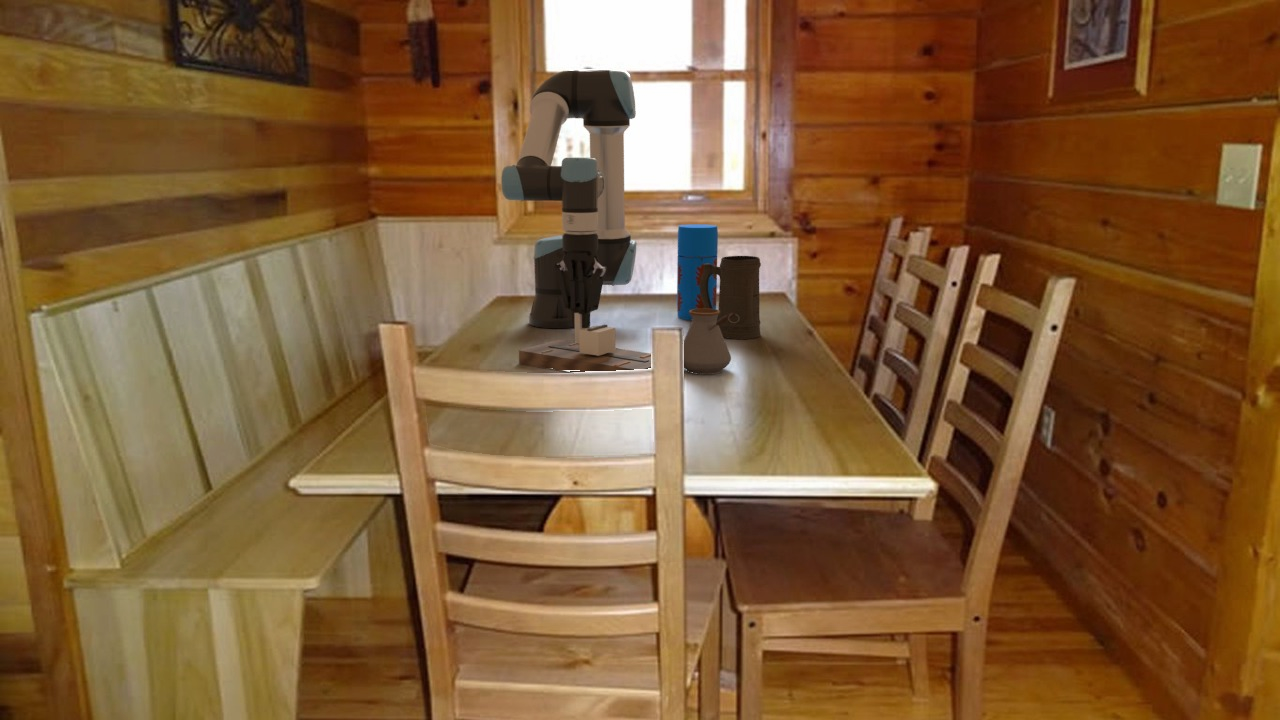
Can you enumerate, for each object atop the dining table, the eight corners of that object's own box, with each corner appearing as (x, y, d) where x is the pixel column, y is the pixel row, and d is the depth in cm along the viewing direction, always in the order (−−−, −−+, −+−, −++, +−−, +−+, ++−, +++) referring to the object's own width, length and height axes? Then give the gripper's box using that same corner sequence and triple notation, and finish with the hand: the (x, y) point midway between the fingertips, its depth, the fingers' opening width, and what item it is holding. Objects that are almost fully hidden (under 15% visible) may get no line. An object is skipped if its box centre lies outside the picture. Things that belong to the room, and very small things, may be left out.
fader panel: (519, 363, 205) (518, 349, 204) (560, 352, 216) (559, 338, 215) (639, 384, 187) (639, 369, 186) (677, 371, 198) (677, 356, 197)
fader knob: (579, 352, 200) (579, 327, 198) (596, 347, 204) (596, 323, 203) (598, 355, 197) (598, 330, 196) (615, 350, 202) (615, 326, 200)
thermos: (721, 315, 263) (723, 225, 257) (707, 321, 254) (709, 228, 248) (685, 312, 267) (686, 224, 262) (670, 318, 258) (671, 226, 252)
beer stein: (762, 331, 240) (759, 253, 236) (764, 339, 230) (760, 258, 225) (702, 334, 242) (698, 256, 238) (701, 342, 231) (697, 261, 227)
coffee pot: (669, 366, 203) (669, 297, 199) (718, 362, 206) (719, 295, 203) (705, 390, 183) (707, 314, 180) (759, 386, 186) (762, 311, 183)
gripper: (544, 232, 198) (547, 341, 203) (593, 235, 190) (594, 349, 196) (567, 229, 204) (569, 336, 209) (615, 232, 196) (616, 343, 202)
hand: (581, 342), depth 202 cm, fingers closed
